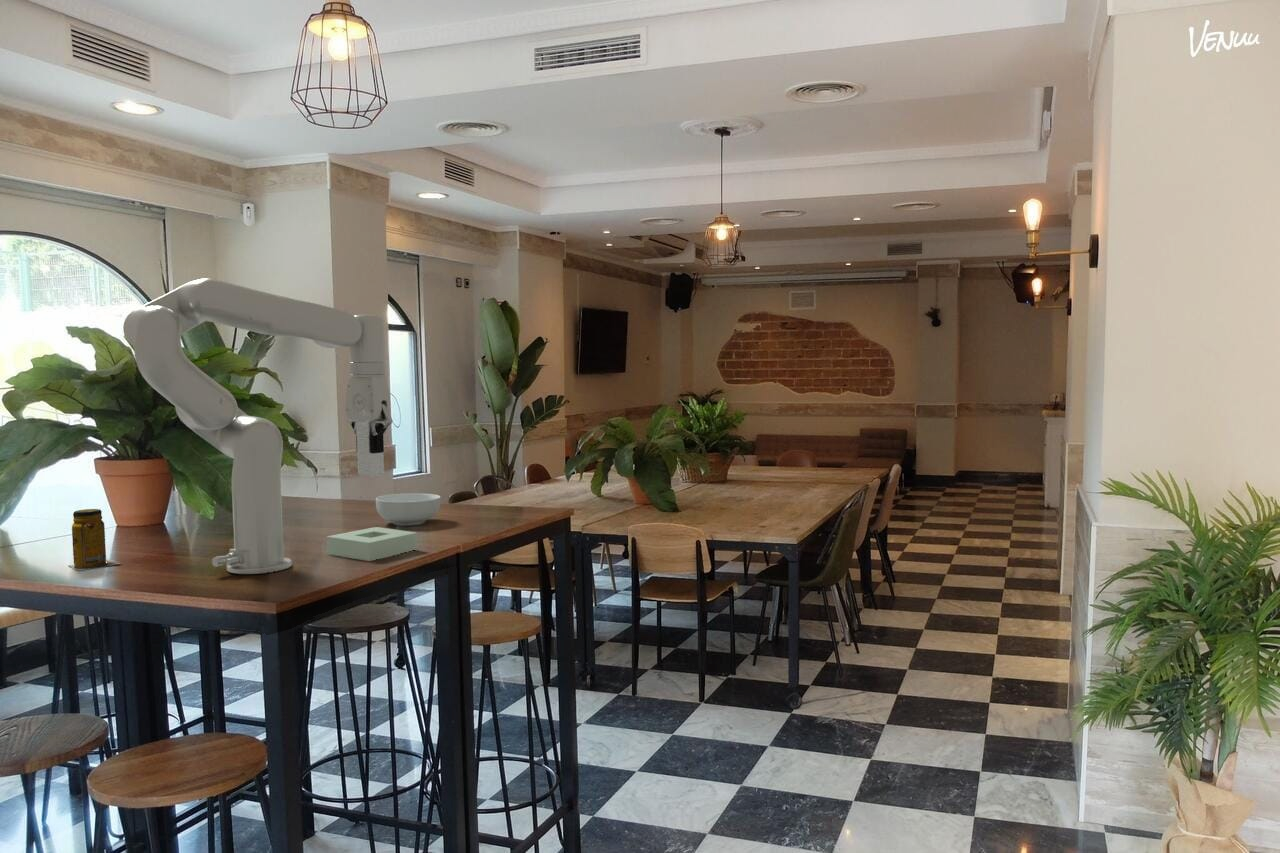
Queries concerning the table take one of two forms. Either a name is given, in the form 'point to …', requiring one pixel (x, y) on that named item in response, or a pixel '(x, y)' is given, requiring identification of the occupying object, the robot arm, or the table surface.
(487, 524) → the table surface
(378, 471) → the white rectangular block
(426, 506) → the cereal bowl
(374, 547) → the green square socket block
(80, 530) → the condiment
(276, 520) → the robot arm
